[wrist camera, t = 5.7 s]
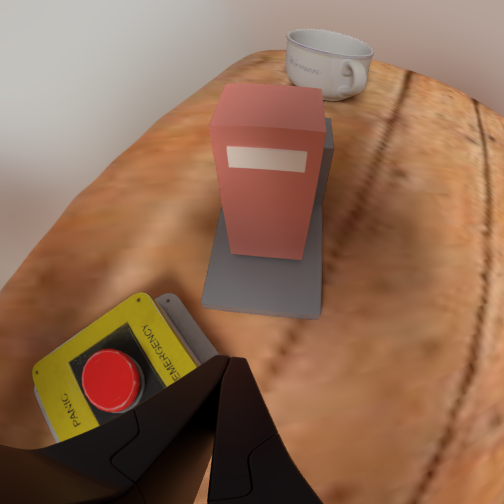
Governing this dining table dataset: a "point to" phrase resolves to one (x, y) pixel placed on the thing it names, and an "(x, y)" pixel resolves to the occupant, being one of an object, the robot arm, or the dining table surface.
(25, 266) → the dining table surface
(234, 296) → the bookend
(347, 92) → the teacup
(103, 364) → the emergency button
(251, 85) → the pink tall block
